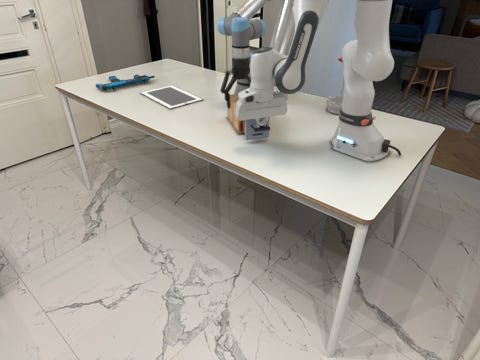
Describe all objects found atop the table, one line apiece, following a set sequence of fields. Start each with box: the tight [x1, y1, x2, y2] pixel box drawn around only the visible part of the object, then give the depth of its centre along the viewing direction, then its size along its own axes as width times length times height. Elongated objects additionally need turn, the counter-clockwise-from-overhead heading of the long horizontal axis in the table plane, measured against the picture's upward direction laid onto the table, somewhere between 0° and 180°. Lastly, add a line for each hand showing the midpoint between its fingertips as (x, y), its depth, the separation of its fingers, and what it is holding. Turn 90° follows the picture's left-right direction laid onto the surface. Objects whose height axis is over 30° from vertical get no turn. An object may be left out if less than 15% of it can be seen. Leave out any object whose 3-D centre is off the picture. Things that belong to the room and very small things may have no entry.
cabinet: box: [226, 93, 244, 135], centre depth 153 cm, size 20×11×11 cm, turn 16°
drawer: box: [241, 117, 271, 141], centre depth 143 cm, size 24×10×9 cm, turn 16°
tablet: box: [140, 85, 204, 110], centre depth 187 cm, size 32×20×1 cm, turn 41°
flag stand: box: [325, 57, 344, 115], centre depth 162 cm, size 13×13×30 cm
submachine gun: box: [94, 74, 155, 92], centre depth 207 cm, size 34×4×25 cm
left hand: (240, 106), depth 158 cm, fingers closed on cabinet, 11 cm apart
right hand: (261, 127), depth 135 cm, fingers closed
